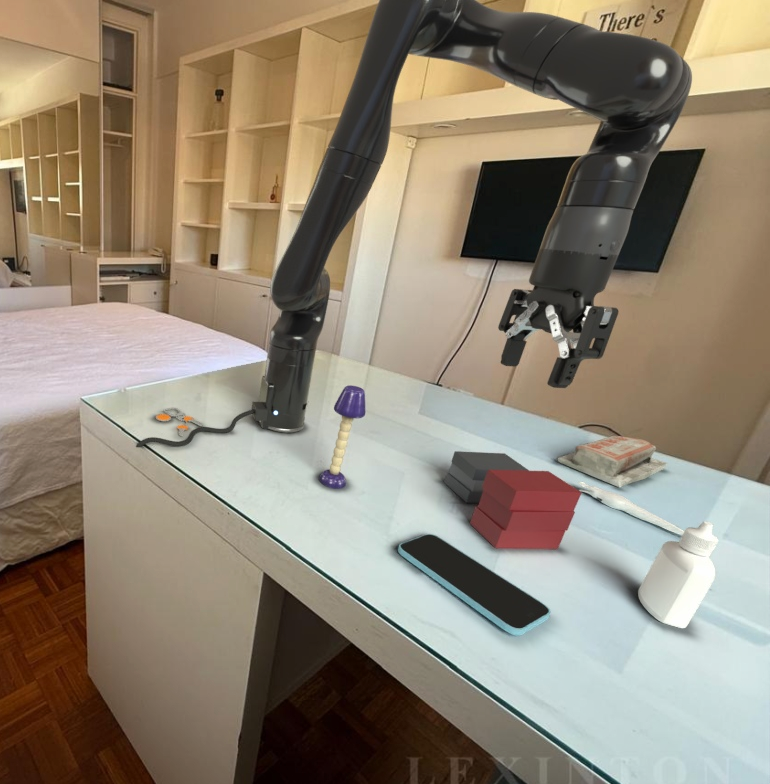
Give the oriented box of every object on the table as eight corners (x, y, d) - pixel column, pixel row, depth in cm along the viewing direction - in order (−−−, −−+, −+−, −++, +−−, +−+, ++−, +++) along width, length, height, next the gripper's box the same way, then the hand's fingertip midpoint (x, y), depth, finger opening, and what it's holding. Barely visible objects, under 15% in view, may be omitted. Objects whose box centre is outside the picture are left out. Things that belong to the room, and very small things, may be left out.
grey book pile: (466, 503, 71) (477, 469, 69) (442, 481, 77) (452, 450, 75) (522, 504, 72) (534, 471, 70) (494, 482, 78) (505, 451, 76)
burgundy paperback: (509, 510, 59) (516, 491, 58) (481, 487, 64) (487, 469, 63) (573, 511, 60) (582, 492, 59) (541, 489, 65) (548, 470, 64)
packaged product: (632, 465, 76) (564, 440, 85) (620, 490, 78) (555, 463, 86) (676, 447, 84) (610, 426, 92) (665, 470, 86) (601, 447, 94)
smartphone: (431, 532, 62) (555, 610, 49) (429, 538, 62) (552, 618, 50) (395, 545, 59) (517, 632, 46) (393, 552, 59) (514, 641, 47)
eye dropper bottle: (629, 608, 52) (675, 521, 48) (639, 587, 56) (683, 504, 51) (683, 635, 49) (737, 544, 45) (690, 611, 52) (741, 525, 48)
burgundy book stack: (496, 549, 61) (510, 512, 59) (469, 523, 66) (481, 487, 64) (561, 550, 61) (577, 513, 59) (529, 524, 67) (542, 489, 65)
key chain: (149, 413, 96) (149, 409, 96) (178, 408, 100) (179, 404, 100) (178, 438, 86) (178, 434, 86) (210, 431, 90) (210, 427, 89)
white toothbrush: (571, 490, 77) (575, 480, 76) (580, 487, 78) (584, 478, 77) (689, 546, 64) (695, 535, 63) (698, 542, 65) (704, 531, 64)
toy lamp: (349, 479, 76) (369, 385, 70) (349, 493, 72) (370, 395, 66) (319, 473, 77) (337, 380, 71) (318, 486, 73) (336, 389, 67)
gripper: (507, 243, 61) (470, 358, 67) (602, 250, 48) (546, 393, 54) (560, 247, 61) (519, 361, 67) (668, 256, 48) (605, 397, 54)
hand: (531, 375), depth 60 cm, fingers open, 8 cm apart
